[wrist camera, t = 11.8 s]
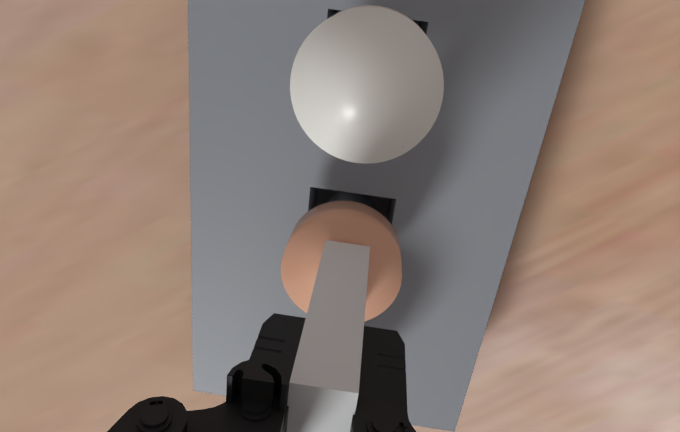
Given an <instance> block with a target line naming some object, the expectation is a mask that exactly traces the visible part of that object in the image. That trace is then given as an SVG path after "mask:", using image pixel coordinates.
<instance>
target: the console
mask: <svg viewBox="0 0 680 432" xmlns="http://www.w3.org/2000/svg"><path fill="white" fill-rule="evenodd" d="M584 3H585V0H188V38H189V114H190V190H191V266H192V342H193V391H199V392H205V393H212V394H218V395H225V396H226V389H227V375H228V373H229V372H230V370H231V369H232V368H233V367H234V366H236V365H237V364H239V363H241V362H243V361H247V360H249V359H250V356H251V353H252V351H253V349H254V345H255V343H256V340H257V339H258V335H259V332H260V329H261V327H262V324H263V323H264V322H265V321H266V320H267V319H268V318H269V317H270V316H272V315H273V314H274V313H276V314H283V315H289V316H296V317H302V318H306V315H307V313H305V312H304V311H303V310H301V309H300V308H299V307H298V306H297V305H296V304H295V303H294V302H293V301H292V300H291V298H290V297H289V295H288V294H287V292H286V290H285V288H284V285H283V282H282V278H281V261H282V257H283V254H284V251H285V248H286V246H287V243H288V241H289V238H290V236H291V233H292V231H293V229H294V227H295V225H296V224H297V222H298V221H299V219H300V218H301V217H302V216H303V215H304V214H306V213H307V212H308V211H309V210H311V209H313V208H314V207H316V206H319V205H321V204H324V203H328V202H329V200H330V199H331V197H332V196H333V195H334V194H336V193H337V192H339V191H343V192H350V193H357V194H364V195H368V196H369V197H370V198H371V199H372V201H373V202H374V204H375V208H376V211H378V212H379V213H381V214H382V215H383V216H384V217H385V218H386V219H387V220H388V221H389V222H390V223H391V225H392V226H393V227H394V229H395V231H396V233H397V235H398V238H399V241H400V246H401V264H402V281H401V286H400V290H399V292H398V294H397V297H396V298H395V300H394V301H393V303H392V304H391V305H390V306H389V307H388V308H387V309H386V310H385V311H384V312H382V313H381V314H379V315H378V316H376V317H374V318H372V319H370V320H367V321H365V322H364V326H369V327H375V328H382V329H388V330H395V331H397V332H398V333H399V335H400V337H401V338H402V340H403V342H404V343H405V360H406V386H407V412H408V418H409V421H410V423H411V425H416V426H422V427H428V428H435V429H441V430H448V431H454V432H455V428H456V425H457V422H458V418H459V415H460V412H461V409H462V405H463V402H464V399H465V395H466V392H467V389H468V385H469V382H470V379H471V376H472V372H473V369H474V366H475V362H476V359H477V356H478V352H479V349H480V346H481V343H482V339H483V336H484V333H485V329H486V326H487V323H488V319H489V316H490V313H491V310H492V306H493V303H494V300H495V296H496V293H497V290H498V287H499V283H500V280H501V277H502V273H503V270H504V267H505V263H506V260H507V257H508V254H509V250H510V247H511V244H512V240H513V237H514V234H515V230H516V227H517V224H518V221H519V217H520V214H521V211H522V207H523V204H524V201H525V197H526V194H527V191H528V188H529V184H530V181H531V178H532V174H533V171H534V168H535V165H536V161H537V158H538V155H539V151H540V148H541V145H542V141H543V138H544V135H545V132H546V128H547V125H548V122H549V118H550V115H551V112H552V108H553V105H554V102H555V99H556V95H557V92H558V89H559V85H560V82H561V79H562V75H563V72H564V69H565V66H566V62H567V59H568V56H569V52H570V49H571V46H572V43H573V39H574V36H575V33H576V29H577V26H578V23H579V19H580V16H581V13H582V10H583V6H584ZM362 5H378V6H383V7H388V8H391V9H394V10H396V11H398V12H400V13H402V14H404V15H406V16H407V17H409V18H410V19H411V20H413V21H414V22H415V23H416V24H417V25H418V26H419V27H420V28H421V29H422V30H423V32H424V33H425V34H426V35H427V37H428V38H429V40H430V41H431V43H432V44H433V46H434V48H435V50H436V52H437V54H438V57H439V59H440V62H441V66H442V70H443V78H444V93H443V100H442V104H441V108H440V111H439V114H438V116H437V119H436V121H435V122H434V124H433V126H432V128H431V129H430V131H429V132H428V133H427V135H426V136H425V137H424V138H423V139H422V140H421V141H420V142H419V143H418V144H417V145H416V146H415V147H413V148H412V149H411V150H409V151H408V152H406V153H404V154H403V155H401V156H398V157H396V158H394V159H391V160H388V161H385V162H379V163H369V164H363V163H354V162H349V161H345V160H342V159H339V158H337V157H335V156H332V155H330V154H329V153H327V152H325V151H324V150H322V149H321V148H320V147H319V146H317V145H316V144H315V143H314V142H313V141H312V140H311V139H310V138H309V137H308V136H307V134H306V133H305V131H304V130H303V129H302V127H301V125H300V123H299V122H298V120H297V117H296V115H295V112H294V110H293V106H292V102H291V95H290V77H291V70H292V66H293V63H294V59H295V57H296V55H297V52H298V50H299V48H300V47H301V45H302V43H303V42H304V40H305V39H306V38H307V36H308V35H309V34H310V33H311V32H312V31H313V30H314V29H315V28H316V27H317V26H318V25H319V24H321V23H322V22H323V21H325V20H326V19H328V18H330V17H331V16H333V15H335V14H337V13H339V12H340V11H343V10H346V9H348V8H352V7H356V6H362Z"/></svg>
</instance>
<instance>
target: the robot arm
mask: <svg viewBox="0 0 680 432" xmlns="http://www.w3.org/2000/svg"><path fill="white" fill-rule="evenodd" d="M369 256H370V246H364V245H357V244H350V243H343V242H337V241H330V240H325V244H324V248H323V252H322V256H321V260H320V264H319V268H318V272H317V276H316V280H315V284H314V288H313V292H312V295H311V299H310V303H309V307H308V311H307V315H306V318H302V317H296V316H289V315H283V314H276V313H274V314H273V315H272V316H270V317H269V318H268V319H267V320H266V321H265V322H264V323H263V324H262V327H261V329H260V332H259V335H258V339H257V340H256V343H255V345H254V349H253V351H252V353H251V356H250V359H249V360H247V361H243V362H241V363H239V364H237V365H236V366H234V367H233V368H232V369H231V370H230V372H229V373H228V375H227V389H226V402H225V403H223V404H221V405H218V406H216V407H213V408H208V409H203V410H194V411H186V409H185V407H184V406H183V404H182V403H180V402H179V401H177V400H176V399H174V398H169V397H164V396H161V397H152V398H148V399H146V400H143V401H140V402H138V403H137V404H136V405H134V406H133V407H132V408H130V409H129V410H128V411H127V412H126V413H125V414H124V415H123V416H122V417H121V418H120V419H119V420H118V421H117V422H116V423H115V424H114V425H113V426H112V427H111V428H110V429H109V430H108V432H416V431H415V430H414V428H413V427H412V425H411V423H410V421H409V418H408V412H407V386H406V360H405V343H404V342H403V340H402V338H401V337H400V335H399V333H398V332H397V331H395V330H388V329H382V328H375V327H369V326H364V319H365V307H366V294H367V281H368V268H369Z"/></svg>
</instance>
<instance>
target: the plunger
mask: <svg viewBox="0 0 680 432" xmlns="http://www.w3.org/2000/svg"><path fill="white" fill-rule="evenodd" d="M443 93H444V78H443V70H442V66H441V62H440V59H439V57H438V54H437V52H436V50H435V48H434V46H433V44H432V43H431V41H430V40H429V38H428V37H427V35H426V34H425V33H424V32H423V30H422V29H421V28H420V27H419V26H418V25H417V24H416V23H415V22H414V21H413V20H411V19H410V18H409V17H407V16H406V15H404V14H402V13H400V12H398V11H396V10H394V9H391V8H388V7H383V6H378V5H362V6H356V7H352V8H348V9H346V10H343V11H340V12H339V13H337V14H335V15H333V16H331V17H330V18H328V19H326V20H325V21H323V22H322V23H321V24H319V25H318V26H317V27H316V28H315V29H314V30H313V31H312V32H311V33H310V34H309V35H308V36H307V38H306V39H305V40H304V42H303V43H302V45H301V47H300V48H299V50H298V52H297V55H296V57H295V59H294V63H293V66H292V70H291V77H290V95H291V102H292V106H293V110H294V112H295V115H296V117H297V120H298V122H299V123H300V125H301V127H302V129H303V130H304V131H305V133H306V134H307V136H308V137H309V138H310V139H311V140H312V141H313V142H314V143H315V144H316V145H317V146H319V147H320V148H321V149H322V150H324V151H325V152H327V153H329V154H330V155H332V156H335V157H337V158H339V159H342V160H345V161H349V162H354V163H363V164H369V163H379V162H385V161H388V160H391V159H394V158H396V157H398V156H401V155H403V154H404V153H406V152H408V151H409V150H411V149H412V148H413V147H415V146H416V145H417V144H418V143H419V142H420V141H421V140H422V139H423V138H424V137H425V136H426V135H427V133H428V132H429V131H430V129H431V128H432V126H433V124H434V122H435V121H436V119H437V116H438V114H439V111H440V108H441V104H442V100H443Z"/></svg>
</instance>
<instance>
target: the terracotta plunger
mask: <svg viewBox="0 0 680 432" xmlns="http://www.w3.org/2000/svg"><path fill="white" fill-rule="evenodd" d="M325 240H330V241H337V242H343V243H350V244H357V245H364V246H370V256H369V268H368V281H367V294H366V307H365V319H364V322H365V321H367V320H370V319H372V318H374V317H376V316H378V315H379V314H381V313H382V312H384V311H385V310H386V309H387V308H388V307H389V306H390V305H391V304H392V303H393V301H394V300H395V298H396V297H397V294H398V292H399V290H400V286H401V281H402V264H401V246H400V241H399V238H398V235H397V233H396V231H395V229H394V227H393V226H392V225H391V223H390V222H389V221H388V220H387V219H386V218H385V217H384V216H383V215H382V214H381V213H379V212H378V211H376V208H375V204H374V202H373V201H372V199H371V198H370V197H369V196H368V195H364V194H357V193H350V192H343V191H339V192H337V193H336V194H334V195H333V196H332V197H331V199H330V200H329V202H328V203H324V204H321V205H319V206H316V207H314V208H313V209H311V210H309V211H308V212H307V213H306V214H304V215H303V216H302V217H301V218H300V219H299V221H298V222H297V224H296V225H295V227H294V229H293V231H292V233H291V236H290V238H289V241H288V243H287V246H286V248H285V251H284V254H283V257H282V261H281V278H282V282H283V285H284V288H285V290H286V292H287V294H288V295H289V297H290V298H291V300H292V301H293V302H294V303H295V304H296V305H297V306H298V307H299V308H300V309H301V310H303V311H304V312H305V313H307V311H308V307H309V303H310V299H311V295H312V292H313V288H314V284H315V280H316V276H317V272H318V268H319V264H320V260H321V256H322V252H323V248H324V244H325Z"/></svg>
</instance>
